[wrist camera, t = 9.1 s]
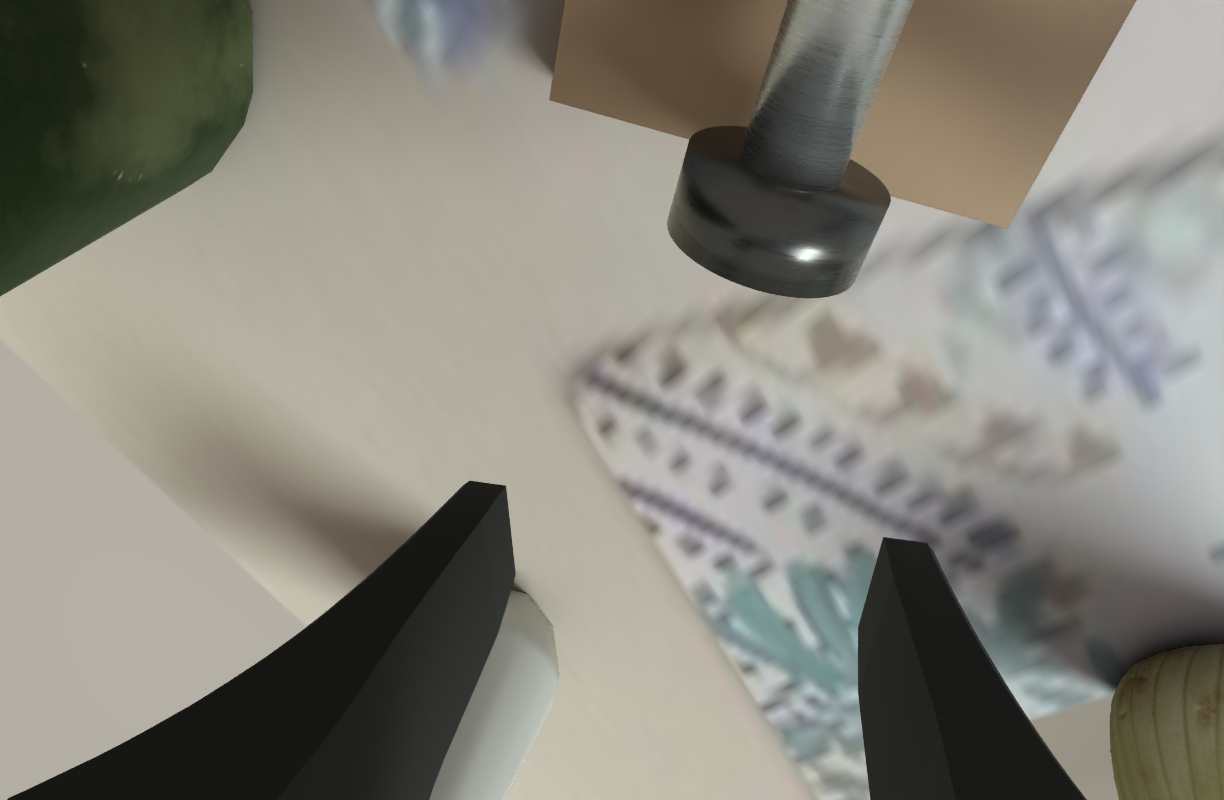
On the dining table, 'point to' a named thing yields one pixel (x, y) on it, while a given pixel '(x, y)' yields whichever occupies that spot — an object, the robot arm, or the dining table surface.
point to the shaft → (795, 159)
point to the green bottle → (110, 115)
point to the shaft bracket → (905, 101)
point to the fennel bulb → (1170, 726)
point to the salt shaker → (503, 708)
